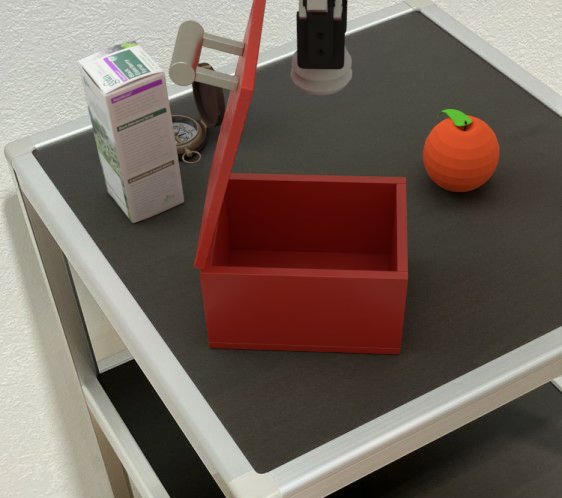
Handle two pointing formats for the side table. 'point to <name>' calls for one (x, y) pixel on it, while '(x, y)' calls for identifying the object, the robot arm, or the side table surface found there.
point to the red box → (308, 264)
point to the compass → (211, 112)
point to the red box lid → (236, 110)
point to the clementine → (460, 152)
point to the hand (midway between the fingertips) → (322, 46)
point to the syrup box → (133, 129)
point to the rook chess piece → (321, 77)
